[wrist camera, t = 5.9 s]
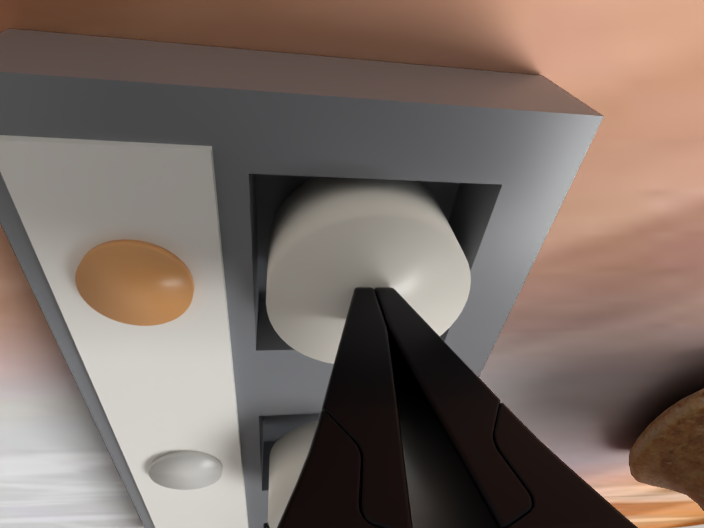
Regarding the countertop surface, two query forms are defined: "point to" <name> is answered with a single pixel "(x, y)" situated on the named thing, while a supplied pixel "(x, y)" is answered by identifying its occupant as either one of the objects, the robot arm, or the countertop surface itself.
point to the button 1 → (359, 258)
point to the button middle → (287, 468)
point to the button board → (243, 228)
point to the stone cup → (673, 449)
